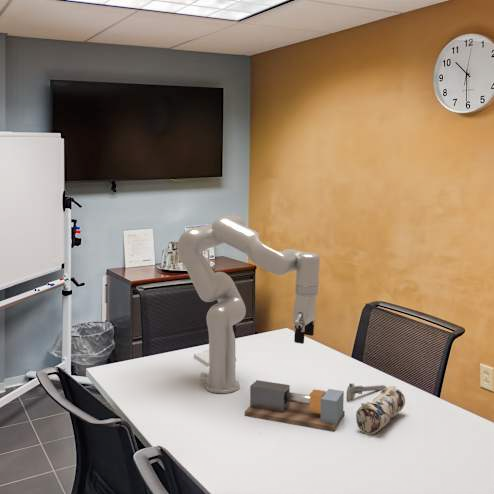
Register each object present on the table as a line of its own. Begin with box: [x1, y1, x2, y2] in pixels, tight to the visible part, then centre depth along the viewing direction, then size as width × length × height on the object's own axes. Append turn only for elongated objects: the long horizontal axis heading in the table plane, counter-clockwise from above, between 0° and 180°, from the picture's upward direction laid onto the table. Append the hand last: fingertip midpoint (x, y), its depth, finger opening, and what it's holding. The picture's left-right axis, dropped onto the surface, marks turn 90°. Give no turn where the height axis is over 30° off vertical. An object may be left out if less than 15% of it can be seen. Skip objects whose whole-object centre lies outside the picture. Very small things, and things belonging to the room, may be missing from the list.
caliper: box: [346, 382, 388, 402], centre depth 222 cm, size 21×1×6 cm, turn 128°
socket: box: [320, 388, 345, 424], centre depth 199 cm, size 5×9×8 cm, turn 157°
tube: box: [285, 388, 327, 414], centre depth 202 cm, size 18×4×6 cm, turn 67°
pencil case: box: [355, 385, 406, 435], centre depth 198 cm, size 22×8×10 cm, turn 145°
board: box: [244, 402, 346, 432], centre depth 204 cm, size 30×13×2 cm, turn 67°
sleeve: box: [249, 379, 291, 413], centre depth 207 cm, size 12×6×7 cm, turn 67°
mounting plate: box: [193, 349, 237, 368], centre depth 259 cm, size 18×13×2 cm
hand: (304, 338), depth 211 cm, fingers open, 9 cm apart
